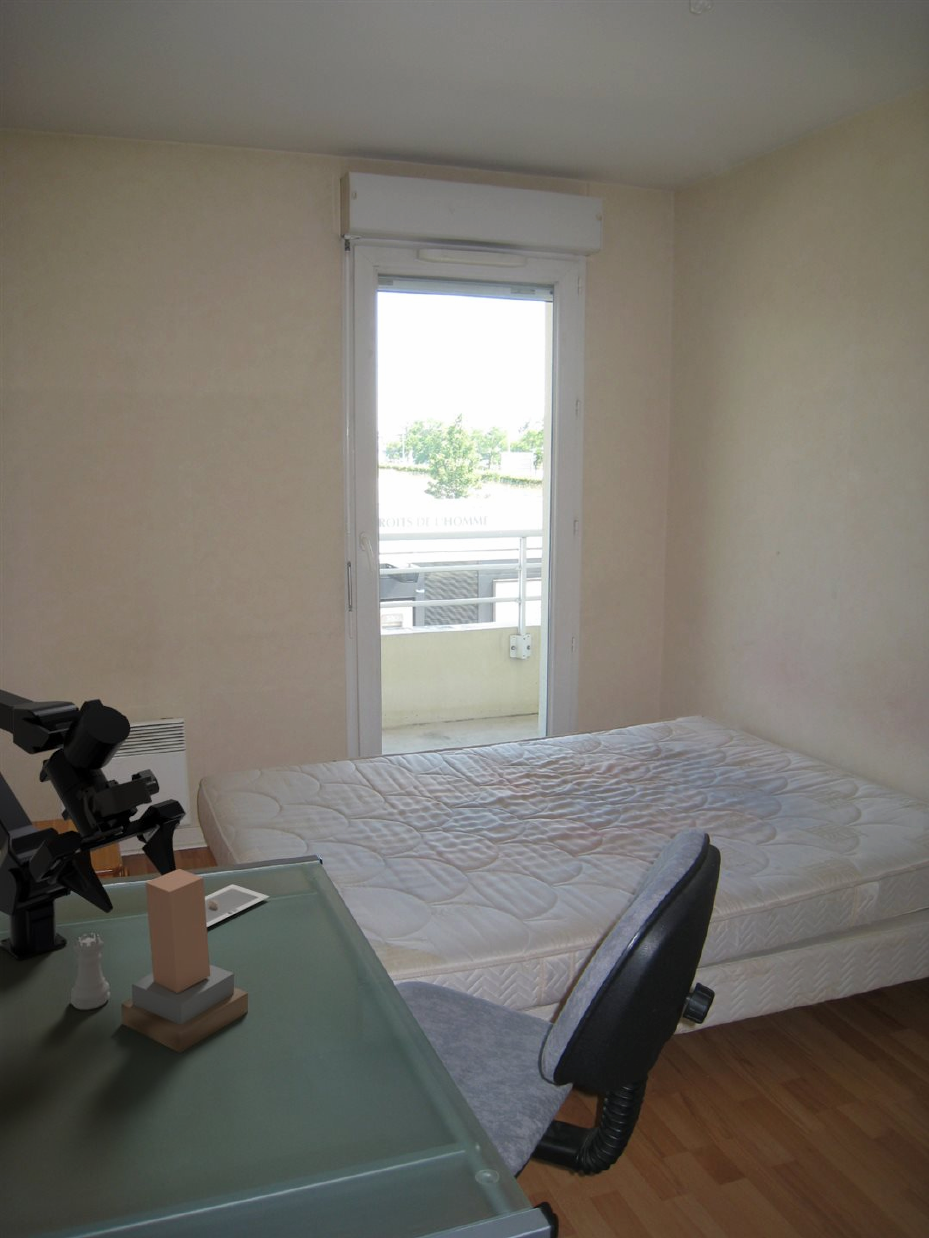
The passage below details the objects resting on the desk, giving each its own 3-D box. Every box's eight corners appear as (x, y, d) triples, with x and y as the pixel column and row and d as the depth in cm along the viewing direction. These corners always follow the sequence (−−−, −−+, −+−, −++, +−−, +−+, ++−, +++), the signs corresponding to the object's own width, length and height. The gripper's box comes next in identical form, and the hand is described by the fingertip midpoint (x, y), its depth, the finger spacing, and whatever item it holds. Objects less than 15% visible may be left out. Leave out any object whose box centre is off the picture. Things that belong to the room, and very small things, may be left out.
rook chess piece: (96, 1013, 109) (94, 949, 108) (62, 1008, 110) (60, 944, 109) (117, 994, 113) (116, 931, 112) (84, 989, 114) (82, 927, 113)
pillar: (153, 981, 107) (145, 882, 105) (186, 964, 110) (179, 868, 109) (177, 993, 104) (169, 891, 103) (210, 975, 108) (203, 877, 106)
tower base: (122, 1027, 107) (121, 1003, 107) (190, 991, 115) (190, 968, 115) (180, 1057, 102) (179, 1031, 101) (247, 1016, 110) (247, 992, 110)
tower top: (132, 1004, 107) (131, 983, 106) (185, 974, 113) (185, 955, 113) (181, 1025, 103) (181, 1003, 102) (233, 993, 109) (233, 973, 109)
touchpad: (154, 926, 132) (154, 912, 132) (232, 890, 145) (232, 877, 145) (192, 941, 128) (192, 926, 128) (269, 903, 141) (269, 889, 140)
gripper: (39, 770, 104) (104, 889, 99) (175, 737, 119) (236, 838, 114) (2, 824, 109) (62, 939, 104) (136, 785, 124) (193, 884, 120)
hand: (143, 897), depth 111 cm, fingers open, 9 cm apart
